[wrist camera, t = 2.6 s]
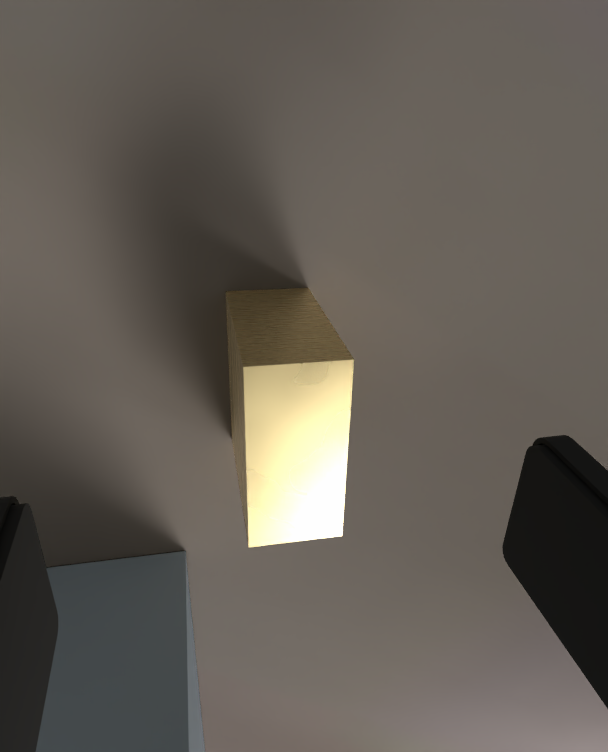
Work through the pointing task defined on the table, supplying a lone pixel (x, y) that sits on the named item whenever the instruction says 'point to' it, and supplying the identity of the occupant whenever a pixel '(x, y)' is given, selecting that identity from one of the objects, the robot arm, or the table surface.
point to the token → (288, 414)
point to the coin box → (123, 659)
